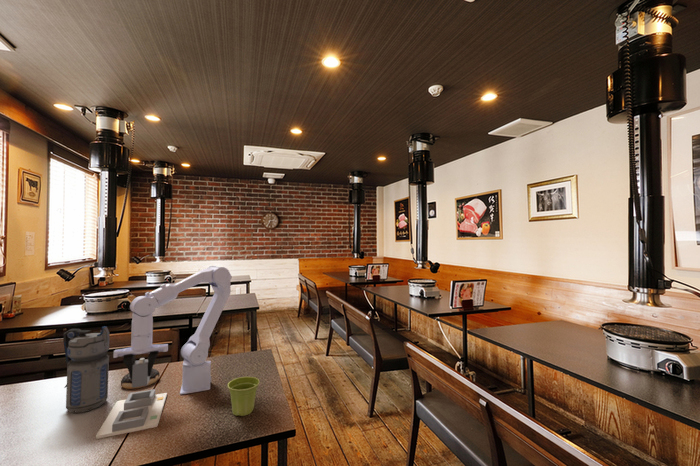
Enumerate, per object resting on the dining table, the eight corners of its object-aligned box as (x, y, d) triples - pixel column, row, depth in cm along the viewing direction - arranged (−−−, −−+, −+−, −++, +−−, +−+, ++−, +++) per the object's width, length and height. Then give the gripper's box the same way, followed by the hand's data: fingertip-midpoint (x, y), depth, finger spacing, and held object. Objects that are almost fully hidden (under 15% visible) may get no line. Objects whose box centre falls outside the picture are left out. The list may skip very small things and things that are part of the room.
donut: (125, 379, 118) (126, 369, 118) (161, 374, 123) (161, 364, 123) (117, 392, 108) (117, 381, 108) (156, 386, 113) (156, 375, 113)
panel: (167, 395, 106) (167, 386, 106) (157, 426, 88) (157, 416, 88) (117, 403, 100) (117, 394, 100) (95, 439, 82) (96, 428, 82)
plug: (149, 380, 102) (150, 356, 103) (147, 385, 99) (147, 360, 99) (134, 382, 101) (135, 358, 101) (132, 387, 97) (132, 362, 97)
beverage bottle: (76, 398, 103) (78, 323, 104) (117, 397, 104) (119, 322, 105) (47, 415, 93) (51, 331, 94) (93, 414, 94) (96, 331, 95)
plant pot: (250, 400, 103) (250, 373, 103) (264, 411, 96) (265, 383, 96) (221, 410, 96) (222, 382, 96) (235, 423, 89) (235, 393, 90)
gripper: (110, 340, 94) (109, 385, 93) (166, 334, 99) (165, 377, 99) (117, 333, 100) (116, 376, 100) (169, 329, 106) (168, 369, 106)
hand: (141, 376), depth 100 cm, fingers closed on plug, 4 cm apart
